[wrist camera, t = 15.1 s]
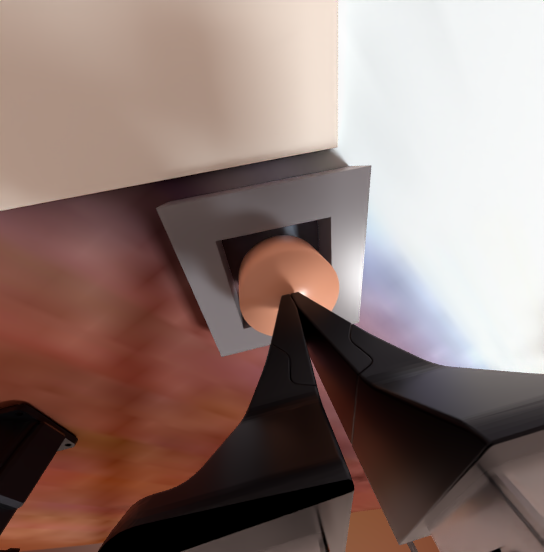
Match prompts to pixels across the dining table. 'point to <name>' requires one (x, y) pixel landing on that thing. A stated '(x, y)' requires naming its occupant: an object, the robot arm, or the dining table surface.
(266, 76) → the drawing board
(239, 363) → the dining table surface
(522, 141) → the dining table surface
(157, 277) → the dining table surface
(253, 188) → the button housing
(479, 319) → the dining table surface
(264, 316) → the button
